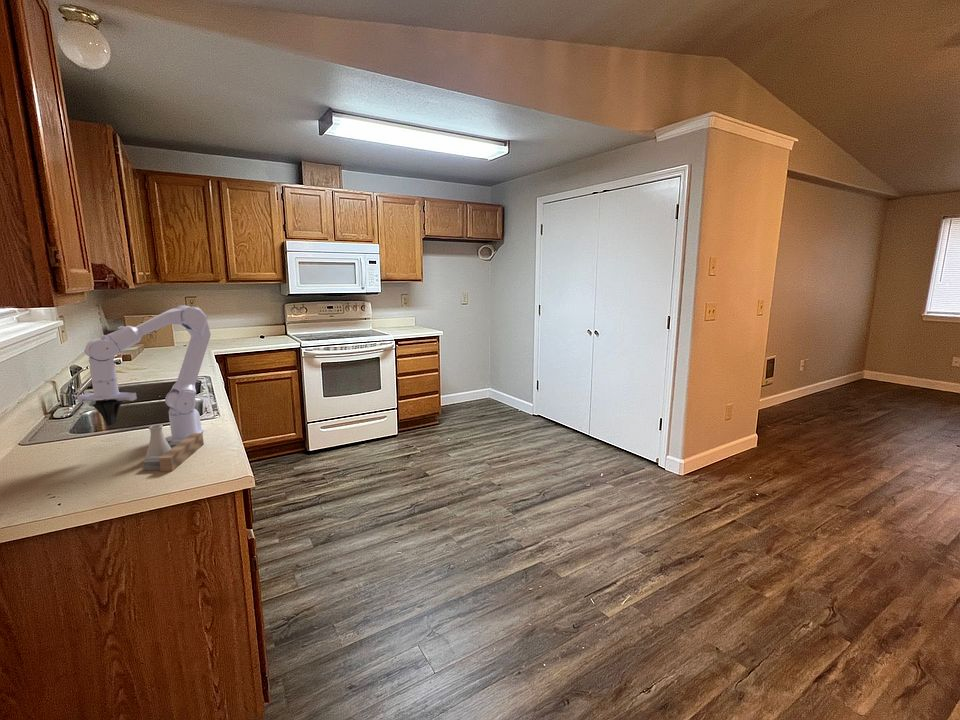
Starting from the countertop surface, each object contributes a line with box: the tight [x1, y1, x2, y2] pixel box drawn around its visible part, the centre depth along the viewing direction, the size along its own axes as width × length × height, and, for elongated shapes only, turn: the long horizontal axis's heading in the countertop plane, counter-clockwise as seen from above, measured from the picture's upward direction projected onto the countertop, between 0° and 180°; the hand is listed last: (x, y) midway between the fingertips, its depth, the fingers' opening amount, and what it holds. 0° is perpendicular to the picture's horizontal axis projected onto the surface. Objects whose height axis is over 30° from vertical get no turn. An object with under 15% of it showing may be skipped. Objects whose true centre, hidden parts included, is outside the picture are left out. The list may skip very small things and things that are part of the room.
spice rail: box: [142, 432, 205, 473], centre depth 133 cm, size 20×8×4 cm, turn 10°
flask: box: [143, 424, 172, 462], centre depth 132 cm, size 7×7×10 cm
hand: (111, 424), depth 134 cm, fingers closed
